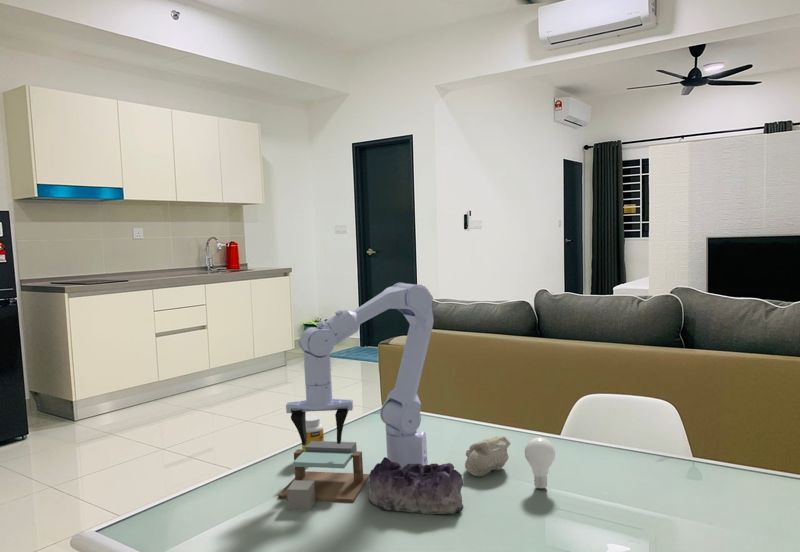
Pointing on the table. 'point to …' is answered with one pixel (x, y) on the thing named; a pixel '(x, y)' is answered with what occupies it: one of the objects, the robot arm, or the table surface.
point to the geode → (416, 488)
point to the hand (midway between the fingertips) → (321, 442)
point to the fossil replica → (487, 456)
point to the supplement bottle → (313, 430)
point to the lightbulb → (540, 459)
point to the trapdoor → (326, 454)
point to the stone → (301, 495)
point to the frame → (333, 481)
